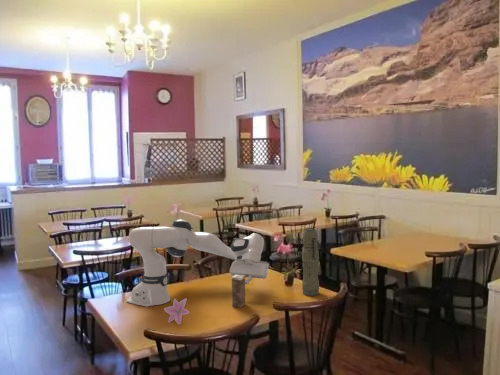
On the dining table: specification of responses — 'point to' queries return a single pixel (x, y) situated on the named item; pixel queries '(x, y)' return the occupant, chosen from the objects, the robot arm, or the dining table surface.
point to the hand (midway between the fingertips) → (245, 283)
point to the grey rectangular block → (238, 291)
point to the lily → (177, 310)
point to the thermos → (310, 263)
